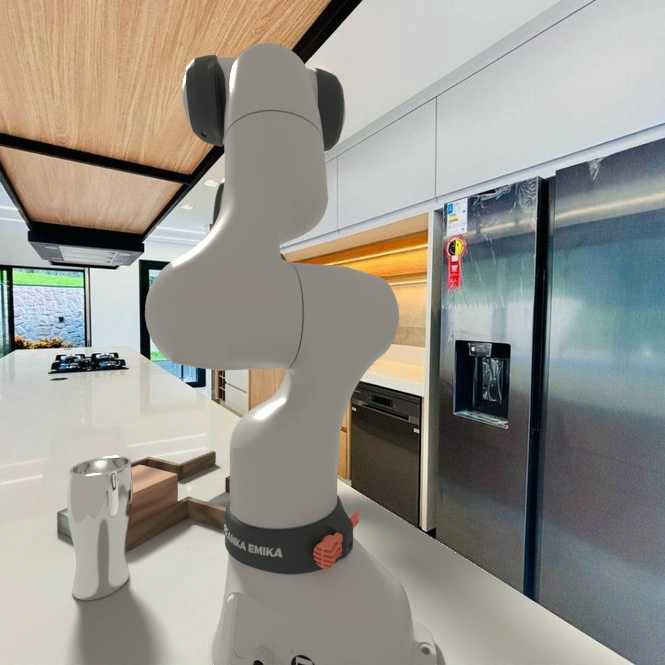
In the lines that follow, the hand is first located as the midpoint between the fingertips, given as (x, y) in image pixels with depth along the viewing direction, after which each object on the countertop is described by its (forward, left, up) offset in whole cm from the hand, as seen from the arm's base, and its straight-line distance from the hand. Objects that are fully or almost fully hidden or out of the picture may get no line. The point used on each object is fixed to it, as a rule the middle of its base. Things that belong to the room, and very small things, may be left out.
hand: (237, 368), depth 82 cm
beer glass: (-10, +36, -24) cm, 44 cm away
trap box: (+1, +15, -23) cm, 28 cm away
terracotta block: (+2, +24, -24) cm, 34 cm away
